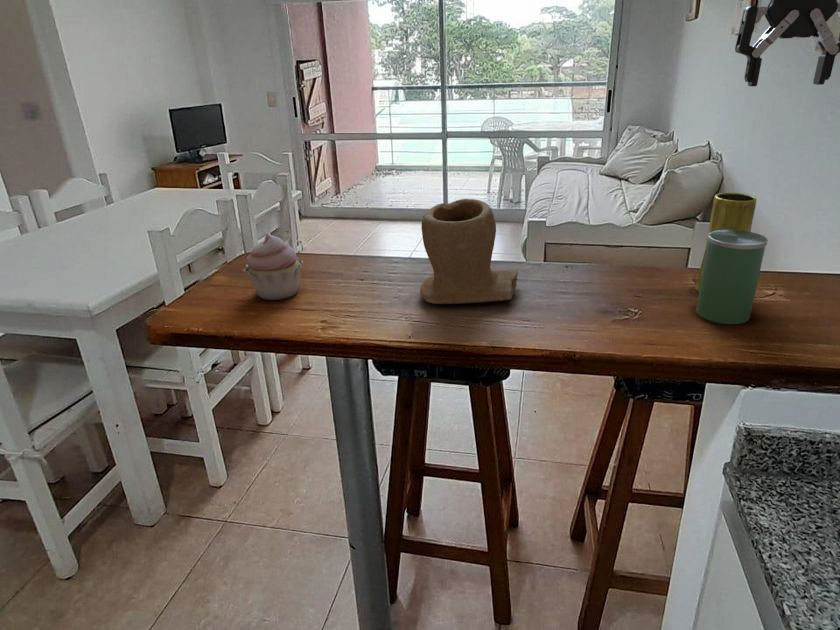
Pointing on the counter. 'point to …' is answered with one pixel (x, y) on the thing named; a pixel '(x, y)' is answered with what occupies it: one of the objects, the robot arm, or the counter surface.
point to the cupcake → (274, 269)
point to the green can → (730, 276)
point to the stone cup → (463, 255)
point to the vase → (729, 217)
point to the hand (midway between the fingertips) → (784, 85)
